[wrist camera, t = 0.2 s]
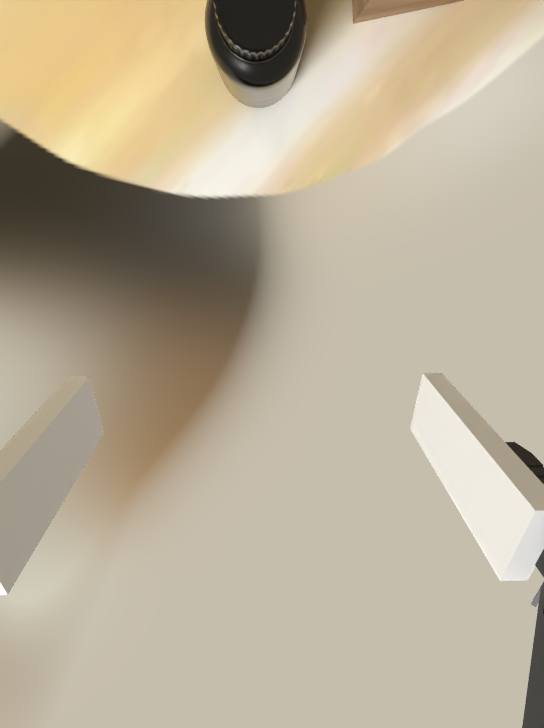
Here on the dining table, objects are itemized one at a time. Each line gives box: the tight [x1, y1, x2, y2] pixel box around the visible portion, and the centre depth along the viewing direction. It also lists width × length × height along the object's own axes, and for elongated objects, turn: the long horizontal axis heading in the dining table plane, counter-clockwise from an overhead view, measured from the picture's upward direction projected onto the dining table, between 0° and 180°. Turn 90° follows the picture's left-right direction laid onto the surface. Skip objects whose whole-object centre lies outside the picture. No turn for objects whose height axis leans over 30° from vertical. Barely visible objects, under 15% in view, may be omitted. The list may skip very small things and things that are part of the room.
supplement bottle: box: [205, 0, 307, 108], centre depth 26 cm, size 7×7×12 cm
